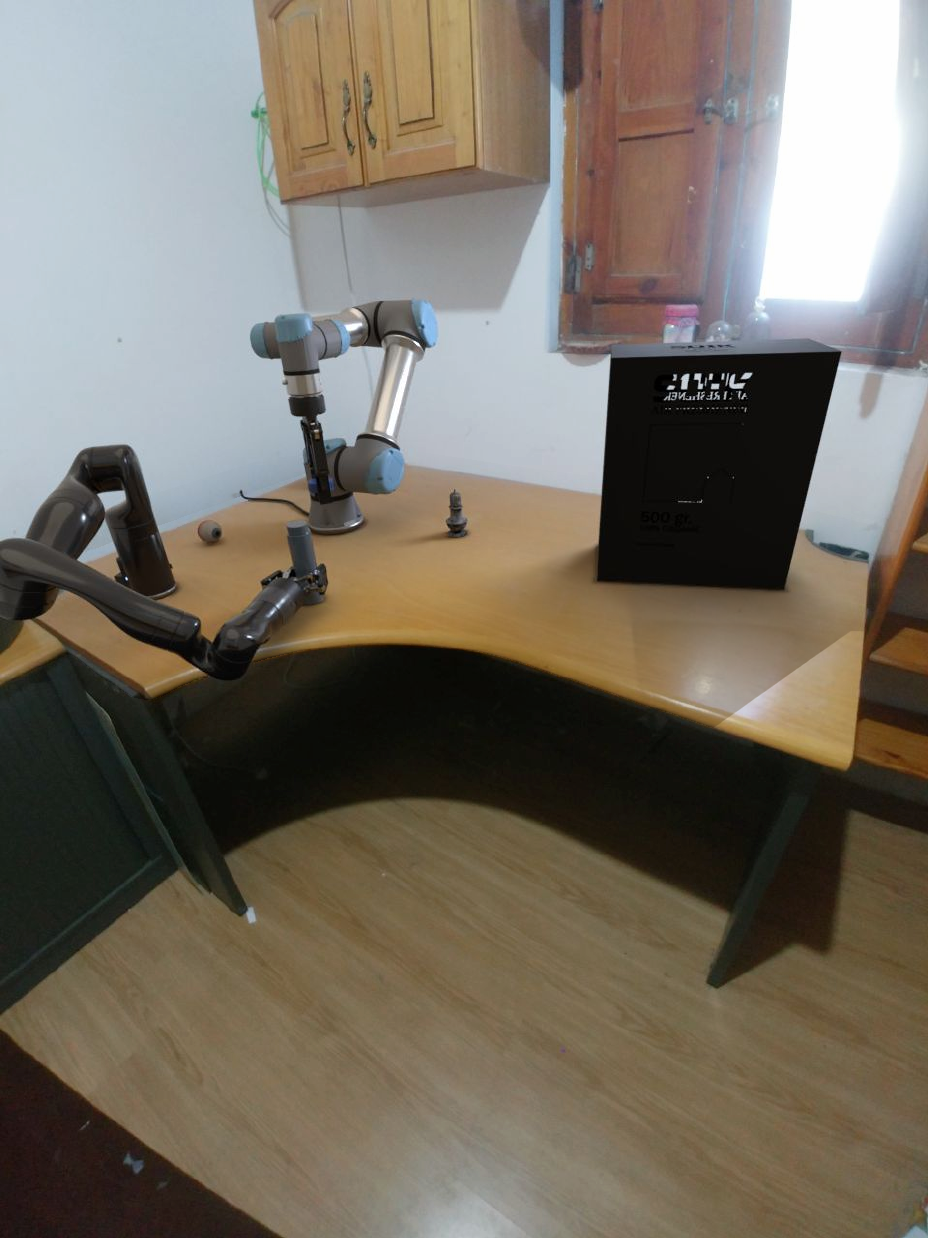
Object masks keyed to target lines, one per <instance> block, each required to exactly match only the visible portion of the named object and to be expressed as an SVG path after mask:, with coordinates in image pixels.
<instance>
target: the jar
mask: <svg viewBox="0 0 928 1238" xmlns="http://www.w3.org/2000/svg"><path fill="white" fill-rule="evenodd" d="M285 527H286V531H287V532H286V534H285V535H286V539H287V540H286V541H287V544H288V550H289V553H290V559H291V563H292V566H293V568H294V573H295V577H300V576H302V575H304V574H306V573H312V572H313V571H315V569H316V568H317V567H318V563H317V556H316V551H315V547H314V541H313V536H312V533H311V532H312V531H311V530H310V529H309V524H308V521H307V520H304V519H303V520H302V519H298V520H292V521H289V522H287V523H286V525H285ZM313 579H314V580H315V577H314V578H313ZM323 600H324V595H319V592H312V593H311V594H310V595H308V596H307V597H305V599H304V602H303V604H302V605H306V606H311V605H316V604H318V603H320V602H322V601H323Z"/></svg>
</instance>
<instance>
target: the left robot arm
mask: <svg viewBox="0 0 928 1238" xmlns="http://www.w3.org/2000/svg"><path fill="white" fill-rule="evenodd" d="M142 469H143V468H142V465H141V462H140V460H139V457H138V455H137V452H136V451H135V450H134V448H133V447H132V446H130V445H128V444H127V443H126V444H125V443H118V444H107V445H106V444H105V445H95V446H89V447H85V448H83V449H82V450H80V451H79V452H78V453H77V455H76V456H75V458H74V459H73V461H72V463H71V465H70V467H69V469H68V471H67V473H66V474H65V476H64V477H63V479H62V480H61V481H60V482H59V484H58V486H56V488H55V489H54V490H53V491H52V492H50V494H49V495H48V496H47V497H46V499H45V500H44V501H43V502H42V503H41V504H40V506H39V507H38V509H37V510H36V512H35V514H34V516H33V518H32V521H31V523H30V524H29V526H28V529H27V532H26V534H25V537H11V538H9V537H8V538H5V539H3V540H0V618H3V619H5V620H9V621H16V622H17V621H19V622H21V621H28V620H34V619H36V618H39V617H41V616H43V615H45V614H46V613H47V612H48V611H50V610H51V609H52V608H53V607H54V605H55V603H56V601H57V598H58V596H59V591H60V590H64V591H66V592H69V593H71V594H73V595H75V596H77V597H79V598H81V599H82V600H84V601H86V602H87V603H89V604H90V605H91V606H93V607H94V608H95V609H97V611H99V612H100V613H101V614H103V616H104V617H105V618H107V619H108V620H109V621H110V622H111V623H112V624H113V625H114V626H115V627H116V628H118V630H120V631H122V632H123V633H124V634H125V635H127V636H129V637H130V638H132V639H134V640H136V641H138V642H140V643H142V644H145V645H148V646H150V647H154V648H156V649H160V650H162V651H165V652H168V653H170V654H174V655H176V656H178V657H179V658H181V659H182V660H183V661H185V662H186V663H188V664H189V665H191V666H193V667H194V668H195V669H198V670H199V671H200V672H202V673H204V674H205V675H207V676H209V677H211V678H213V679H216V680H220V681H225V682H227V681H228V682H229V681H236V680H239V679H240V678H242V677H243V676H244V675H245V674H246V672H247V671H248V669H249V667H250V665H251V663H252V662H253V659H254V658H255V656H256V654H257V652H258V650H259V649H260V648H261V646H264V645H265V644H267V643H268V642H270V641H272V639H273V638H274V636H276V634H277V633H278V632H279V631H280V630H281V629H282V628H283V627H284V626H286V625H287V624H288V623H289V622H290V620H291V619H292V618H293V617H294V615H295V614H296V613H297V612H298V611H299V610H300V609H301V607H303V605H304V604H303V602H304V599H305V597H307V596H308V595H310V594H311V593H312V592H319V595H323V596H324V595H325V594H326V592H327V590H328V585H329V579H328V571H327V566H326V564H325V563H319V564H318V565H317V568H316V569H315V571H313V572H312V573H306V574H304V575H302V576H300V577H295V573H294V568H293V565H292V566H290V567H289V568H286V569H285V570H284V571H282V570H281V569H278V570H275V571H274V572H272V573H271V574H269V575H267V576H266V577H264V578H263V579H261V580H260V582H259V583H260V585H261V589H262V590H261V591H259V593H258V594H256V596H255V597H254V598H253V599H252V601H251V603H250V604H249V605H247V607H245V608H244V609H243V610H242V611H241V613H239V614H237V615H234V616H233V617H231V618H229V619H228V620H226V622H224V624H222V626H221V627H220V628H219V629H218V630H217V632H216V634H215V635H214V638H213V640H210V639H208V638H207V637H206V636H204V634H203V633H202V621H201V619H200V617H198V616H196V615H195V614H193V613H190V612H188V611H184V610H182V609H179V608H177V607H174V606H172V605H168V604H166V603H164V602H161V601H158V600H160V599H163V598H165V597H168V596H170V595H171V594H173V593H174V592H175V591H177V588H178V584H177V581H176V580H175V576H174V573H173V570H172V569H174V566H173V564H172V563H170V560H169V557H168V554H167V552H166V549H165V546H164V542H163V540H162V536H161V534H160V530H159V528H158V524H157V521H156V518H155V516H154V511H153V507H152V502H151V499H150V495H149V492H148V488H147V485H146V481H145V477H144V472H143V470H142ZM113 492H115V493H116V492H124V497H125V499H124V500H122V501H121V502H119V503H117V504H115V505H113V506H111V507H109V508H108V509H106V508H105V505H104V503H103V500H102V499H101V497H99V495H100V494H104V493H105V494H106V493H113ZM104 522H105V523H106V526H107V529H108V531H109V534H110V537H111V539H112V542H113V545H114V547H115V550H116V553H117V555H118V556H117V557H116V558H115V562H116V564H117V566H118V567H117V568H118V570H119V572H118V573H116V574H115V575H114V576H113V577H114V579H112V578H111V577H109V576H107V575H106V574H104V573H102V572H100V571H98V570H97V569H95V568H93V567H91V566H89V565H87V564H85V563H84V562H81V561H80V560H78V559H79V558H80V557H81V556H82V554H83V553H84V552H85V550H86V549H87V547H88V546H89V545H90V543H91V542H92V541H93V540H94V538H95V537H96V535H97V534H98V532H99V530H100V529H101V527H102V525H103V523H104ZM314 577H315V580H314V579H313V578H314Z"/></svg>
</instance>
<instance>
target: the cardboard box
mask: <svg viewBox="0 0 928 1238" xmlns="http://www.w3.org/2000/svg"><path fill="white" fill-rule="evenodd" d="M841 356H842V350H840V349H838V348H834V347H833V346H829V345H827V344H823V343H821V342H819V341H816V340H813V339H811V338H808V337H807V338H806V337H805V338H780V339H779V338H777V339H776V338H775V339H774V338H773V339H749V340H748V339H746V340H745V339H744V340H718V341H688V342H687V341H685V342H683V341H682V342H681V341H680V342H652V343H624V344H623V343H621V344H611V345H610V358H609V372H608V373H609V374H608V386H607V388H608V392H607V405H606V419H605V420H606V422H605V434H604V451H603V452H604V453H603V466H602V481H601V496H600V512H599V513H600V514H599V528H598V541H597V542H598V543H597V566H596V567H597V568H596V582H609V583H630V584H648V585H649V584H653V585H672V586H673V585H674V586H675V585H676V586H693V587H695V586H697V587H699V586H700V587H716V588H717V587H718V588H719V587H720V588H739V589H740V588H742V589H762V590H764V589H765V590H781V591H782V590H785V588H786V584H787V580H788V576H789V572H790V567H791V563H792V559H793V555H794V551H795V546H796V542H797V538H798V535H799V531H800V528H801V527H800V526H801V522H802V518H803V514H804V509H805V506H806V501H807V497H808V493H809V489H810V485H811V480H812V476H813V472H814V468H815V465H816V460H817V456H818V451H819V447H820V443H821V440H822V435H823V432H824V427H825V423H826V419H827V415H828V410H829V405H830V403H831V398H832V394H833V390H834V386H835V381H836V378H837V374H838V369H839V365H840V360H841ZM745 374H751V375H750V376H749V377H748V378H743V377H744V376H745ZM675 375H676V378H675ZM685 375H688V380H687V386H686V388H682V385H683V377H684V376H685ZM696 375H700V380H699V379H695V377H696ZM710 375H712V377H711V379H710ZM723 375H724V376H723ZM733 376H734V378H733V385H738V384H743V386H742V387H741V388H739V387H738V388H733V387H731V385H730V383H731V379H732V377H733ZM699 385H702V388H699ZM713 385H718V388H712V387H713ZM670 386H671V387H673V388H671V389H668V388H669V387H670Z"/></svg>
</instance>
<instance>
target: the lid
mask: <svg viewBox="0 0 928 1238" xmlns="http://www.w3.org/2000/svg"><path fill="white" fill-rule="evenodd" d="M328 479H329V485H330V491H331V490H333V489H334V482H333V479H332V478H330V477H328ZM307 488H308V492H309V491H310V492H312V493H318V490H317V484H316V478H313V479H310V480H309V481H308V482H307ZM310 492H309V493H310Z"/></svg>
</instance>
